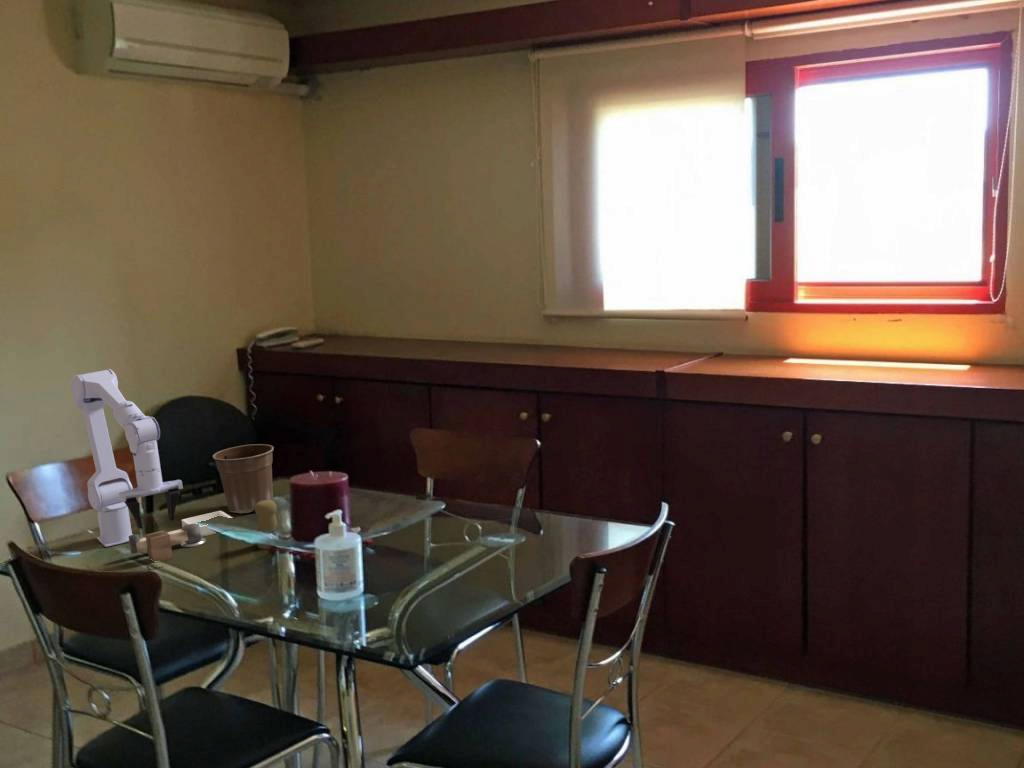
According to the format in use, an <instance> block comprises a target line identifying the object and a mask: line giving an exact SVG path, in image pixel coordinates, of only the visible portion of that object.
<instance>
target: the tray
mask: <svg viewBox="0 0 1024 768" xmlns="http://www.w3.org/2000/svg"><path fill="white" fill-rule="evenodd" d="M217 516H223V517H227V518H233V516H231V515H229V514H227V513H226V512H224V511H223V510H217V511H213V512H209V513H204V514H199V515H195V516H191V517H187V518H183V519H181V525H182V527H181V529H183V526H185V525H188V524H196V522H201V521H206V520H209V519H211V518H214V517H217ZM207 525H208V524H207ZM207 525H203V526H200V533H201V538H204V537H207V536H209V535H210V536H212V535H214V534H217V533H216V532H214V531H212V530H210V529H209V528H208V527H206V526H207Z"/></svg>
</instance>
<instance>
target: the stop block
mask: <svg viewBox="0 0 1024 768" xmlns="http://www.w3.org/2000/svg"><path fill="white" fill-rule="evenodd" d="M145 538H146V542H147V549H148V550H147V554H148V559H149V558H150V559H152V560H153V561H158V560H164V561H166V560H165V559H168V560H170V559H171V558H172V559H173V558H174V557H173V550H172V544H171V542H170V535H169V534H168V533H167V531H165V530H160V531H156V532H152V533H148V534H145ZM150 559H149V560H150ZM172 559H171V560H172Z"/></svg>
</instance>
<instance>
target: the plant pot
mask: <svg viewBox="0 0 1024 768" xmlns="http://www.w3.org/2000/svg"><path fill="white" fill-rule="evenodd" d="M274 448H275V447H274V446H273V445H270V444H267V443H266V444H265V443H264V444H263V443H259V444H257V443H256V444H245V445H239V446H238V445H237V446H234V447H233V446H232V447H227V448H226V449H222V450H220V451H219V450H218V451H216V452H215V453H214V454H213V455H212V459H213V460H214V462H215V465H216V469H217V471H218V473H219V477H220V480H221V484H222V488H223V489H222V490H223V492H224V493H223V494H224V496H225V501H226V506H227V509H228V510H227V511H229V512H230V511H236V510H245V509H251V508H255V505H256V504H257V503H258V502H260V501H264V500H272V499H273V500H274V492H273V491H274V490H273V488H274V486H273V468H272V467H273V466H272V464H273V459H274V458H273V452H274Z"/></svg>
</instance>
